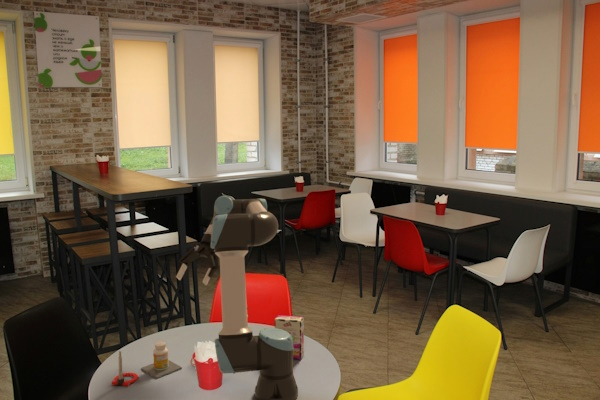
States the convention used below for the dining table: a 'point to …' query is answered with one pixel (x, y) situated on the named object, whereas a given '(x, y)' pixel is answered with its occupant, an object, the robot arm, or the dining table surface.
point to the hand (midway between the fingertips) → (191, 281)
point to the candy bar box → (293, 332)
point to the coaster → (161, 373)
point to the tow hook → (119, 378)
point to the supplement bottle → (160, 356)
